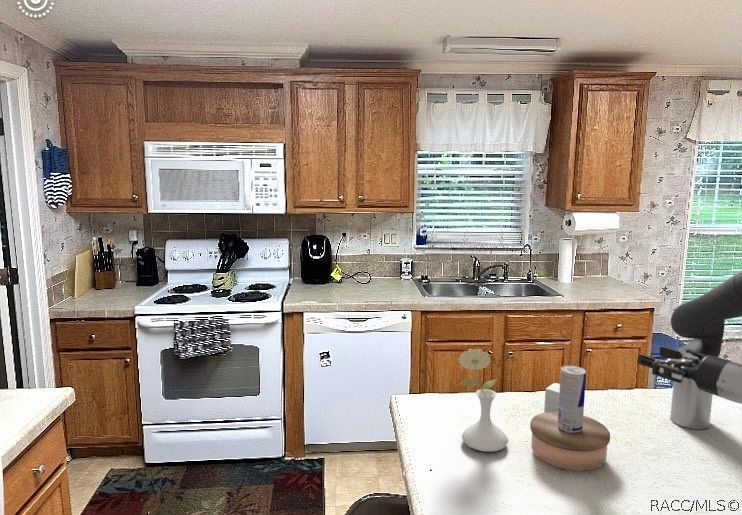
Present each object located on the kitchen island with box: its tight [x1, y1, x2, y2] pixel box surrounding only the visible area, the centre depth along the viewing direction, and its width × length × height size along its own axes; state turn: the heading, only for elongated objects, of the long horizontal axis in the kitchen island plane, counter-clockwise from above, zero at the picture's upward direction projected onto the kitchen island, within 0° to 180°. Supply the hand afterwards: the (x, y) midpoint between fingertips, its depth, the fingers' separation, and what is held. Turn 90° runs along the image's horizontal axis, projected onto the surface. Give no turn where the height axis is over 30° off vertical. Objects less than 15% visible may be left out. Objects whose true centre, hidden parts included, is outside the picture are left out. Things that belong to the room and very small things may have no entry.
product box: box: [543, 382, 560, 413], centre depth 151 cm, size 6×6×7 cm
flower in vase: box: [457, 348, 509, 453], centre depth 133 cm, size 13×11×25 cm
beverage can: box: [558, 365, 587, 433], centre depth 126 cm, size 6×6×15 cm
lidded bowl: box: [529, 411, 611, 471], centre depth 128 cm, size 18×18×7 cm
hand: (649, 354), depth 119 cm, fingers open, 8 cm apart
